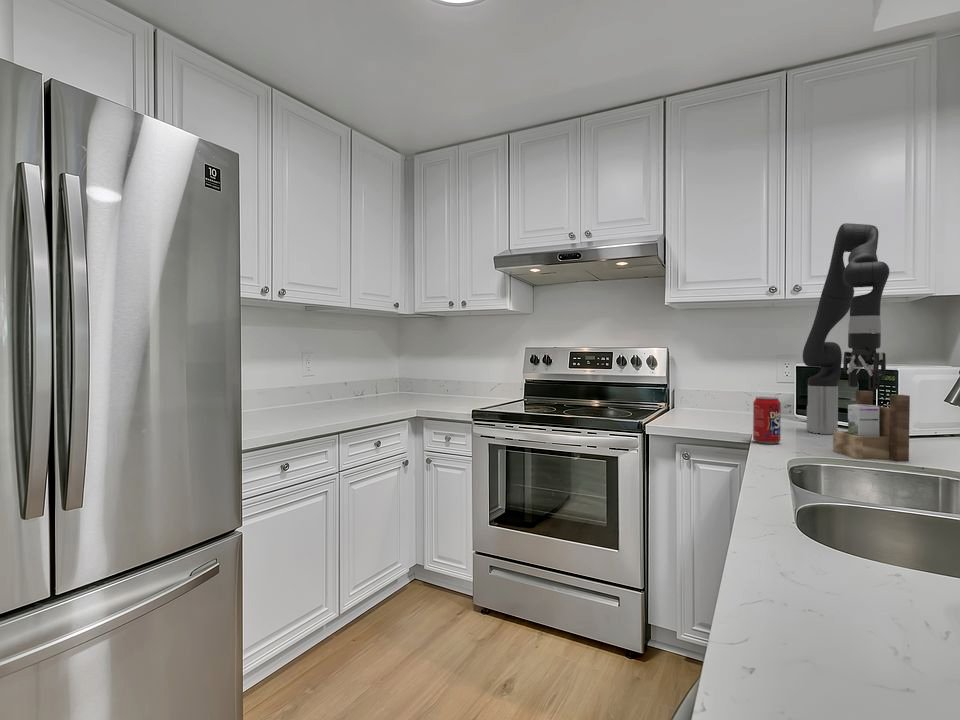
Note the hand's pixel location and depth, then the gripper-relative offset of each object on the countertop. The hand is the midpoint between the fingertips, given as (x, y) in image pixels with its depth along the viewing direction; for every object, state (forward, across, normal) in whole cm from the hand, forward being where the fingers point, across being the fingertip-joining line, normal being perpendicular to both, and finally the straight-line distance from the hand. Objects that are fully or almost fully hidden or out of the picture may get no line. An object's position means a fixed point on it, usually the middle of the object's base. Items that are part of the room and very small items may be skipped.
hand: (863, 388), depth 148 cm
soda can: (+20, -18, -18) cm, 32 cm away
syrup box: (+20, 0, 0) cm, 20 cm away
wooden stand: (+19, 0, +1) cm, 19 cm away
